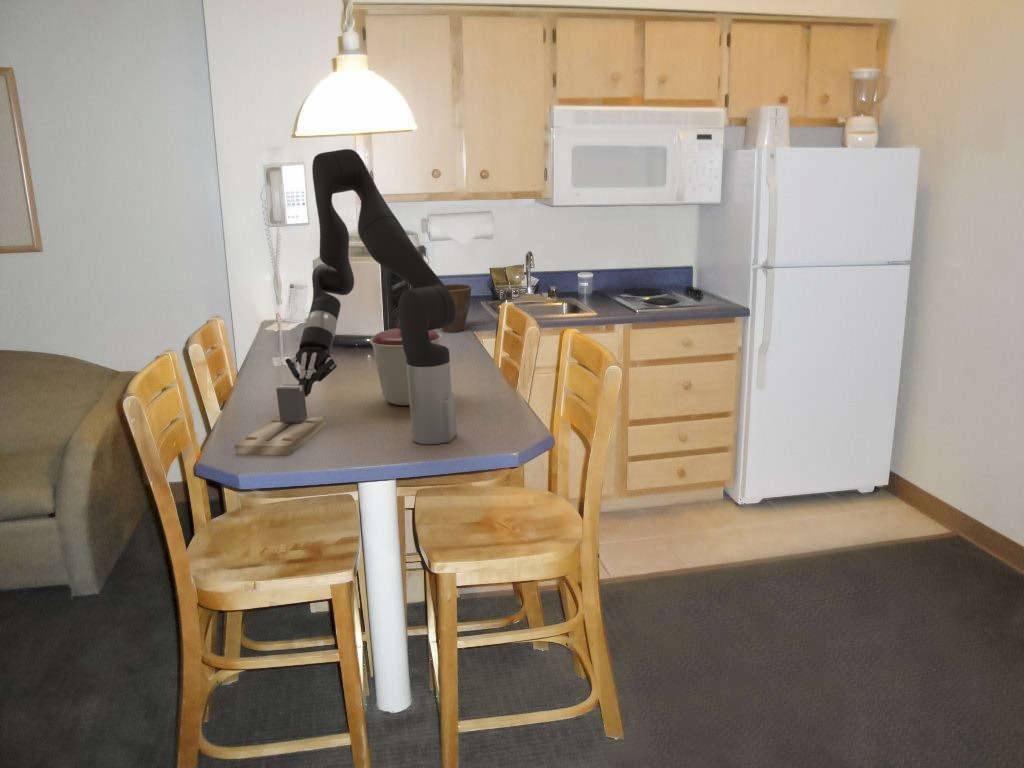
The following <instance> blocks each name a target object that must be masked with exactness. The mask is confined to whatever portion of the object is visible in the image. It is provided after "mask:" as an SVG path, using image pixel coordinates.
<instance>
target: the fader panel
mask: <svg viewBox="0 0 1024 768" xmlns="http://www.w3.org/2000/svg"><path fill="white" fill-rule="evenodd" d="M326 418H327V417H326V416H307V419H305V420H304V421H303V422H301V423H288V422H280V415H276V417H274V418H273V419H271V420H270V421H268V422H266V423H265V424H264V425H262V426H261V427H259V428H258V429H256V430H255V431H253V432H251V434H249V435H247V436H246V437H244V438H243V439H241V440H240V441H238V442H237V443H235V444H234V451H235V455H236V454H237V455H261V456H262V455H263V456H266V455H267V456H268V455H269V456H289V455H291V454H292V453H294V452H295V450H297V449H298V448H300V447H301V446H302V445H303V444H304V443H306V442H307V441H308V440H310V439H311V438H312V437H313V436H315V435H316V434H317V433H318V432H320V431H321V430H322V429H324V428H325V427H326V426H327V419H326Z"/></svg>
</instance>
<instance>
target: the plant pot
mask: <svg viewBox="0 0 1024 768" xmlns="http://www.w3.org/2000/svg"><path fill="white" fill-rule="evenodd" d="M444 285H445V286H446V288H447V289H448V291H449V292H450V294H451V296H452V298H453V300H454V303H455V307H456V317H455V320H454V322H453V323H452V324H451V325H449V326H446V327H443V328H441V331H442V332H443V333H448V334H450V333H451V334H454V333H461V332H462V331H464V327H465V325H466V321H467V318H468V313H469V307H470V302H471V292H472V286H471V285H468V284H458V283H455V284H452V283H451V284H444Z"/></svg>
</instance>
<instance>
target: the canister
mask: <svg viewBox="0 0 1024 768" xmlns="http://www.w3.org/2000/svg"><path fill="white" fill-rule="evenodd" d="M397 327H398V328H396V327H395V328H390V329H386V330H383V331H379V332H377V333H376V334H374V336H372V337H371V338H370V339H369V343H370V344H371V345H372V349H373V354H374V360H375V364H376V370H377V373H378V379H379V383H380V388H381V392H382V395H383V398H384V399H385V400H386V401H387V402H388V403H390V404H392V405H395V406H407V407H408V406H409V407H410V402H409V388H408V375H407V361H406V355H405V352H404V349H403V345H402V336H401V328H400V321H399V322H398V323H397ZM428 332H429V338H430V341H431V342H432V343H433V344H439V345H440V342H441V340H442V338H443V335H442V334H441V333H439V332H437V331H436V330H435V329H434V330H429V331H428Z"/></svg>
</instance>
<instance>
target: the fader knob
mask: <svg viewBox="0 0 1024 768" xmlns="http://www.w3.org/2000/svg"><path fill="white" fill-rule="evenodd" d="M275 389H276V397H277V407H278V416H280V422H288V423H301V422H303V421H304V420H305V419H307V417H308V410H307V403H306V402H307V401H306V397H305V392H304V385H298V384H282V385H279V386H278V387H277V388H275Z"/></svg>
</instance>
